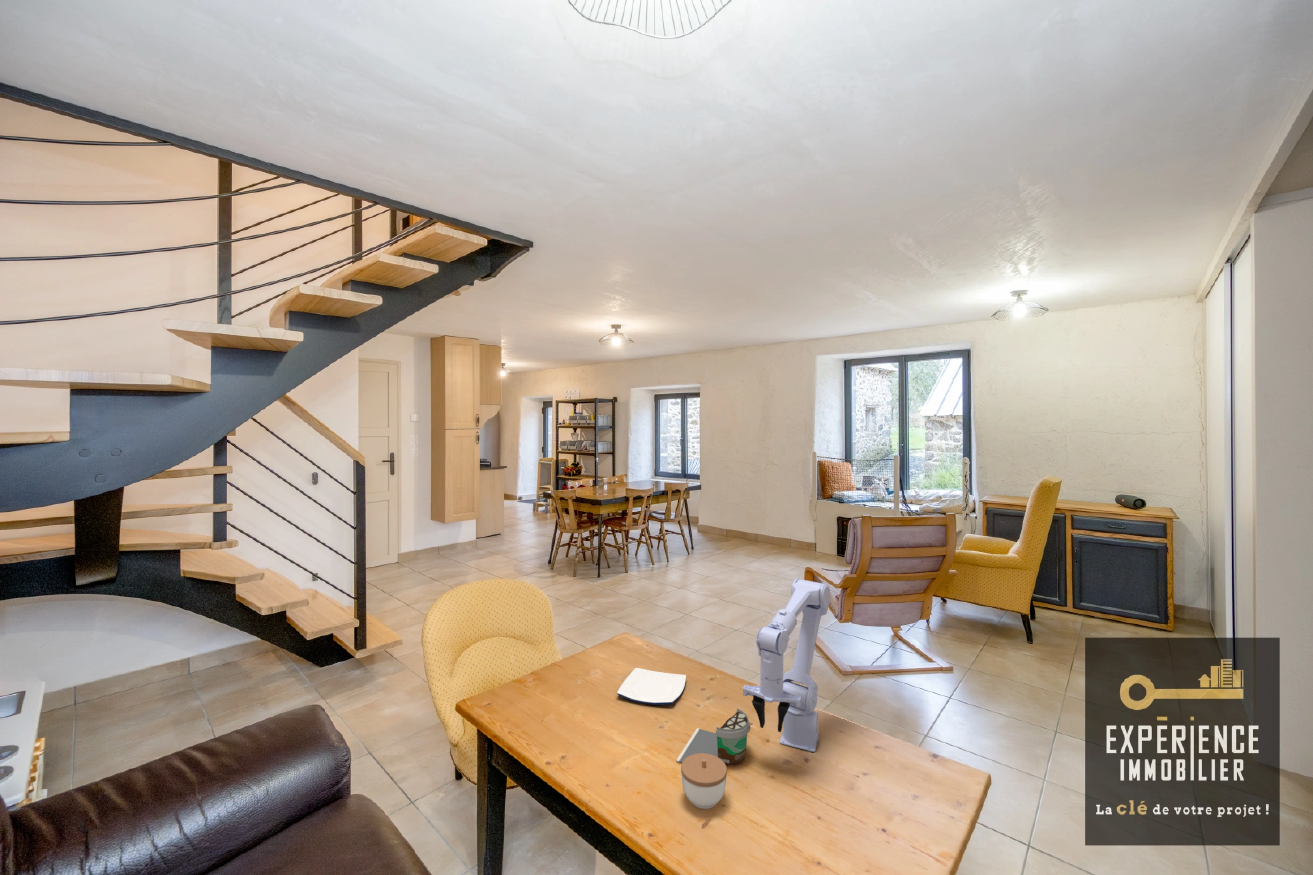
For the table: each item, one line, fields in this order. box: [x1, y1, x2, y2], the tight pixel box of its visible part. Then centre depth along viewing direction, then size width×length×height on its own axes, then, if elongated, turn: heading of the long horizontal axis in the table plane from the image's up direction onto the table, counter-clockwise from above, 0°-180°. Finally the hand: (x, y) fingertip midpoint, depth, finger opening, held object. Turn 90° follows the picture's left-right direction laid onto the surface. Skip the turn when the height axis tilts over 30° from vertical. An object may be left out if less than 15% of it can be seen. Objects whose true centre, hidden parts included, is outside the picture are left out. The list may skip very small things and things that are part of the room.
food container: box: [715, 708, 751, 767], centre depth 137 cm, size 12×6×10 cm, turn 144°
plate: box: [616, 667, 687, 706], centre depth 172 cm, size 20×20×3 cm
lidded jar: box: [680, 753, 728, 810], centre depth 122 cm, size 11×11×9 cm
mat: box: [675, 727, 718, 764], centre depth 141 cm, size 10×16×1 cm, turn 156°
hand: (771, 727), depth 133 cm, fingers open, 4 cm apart
